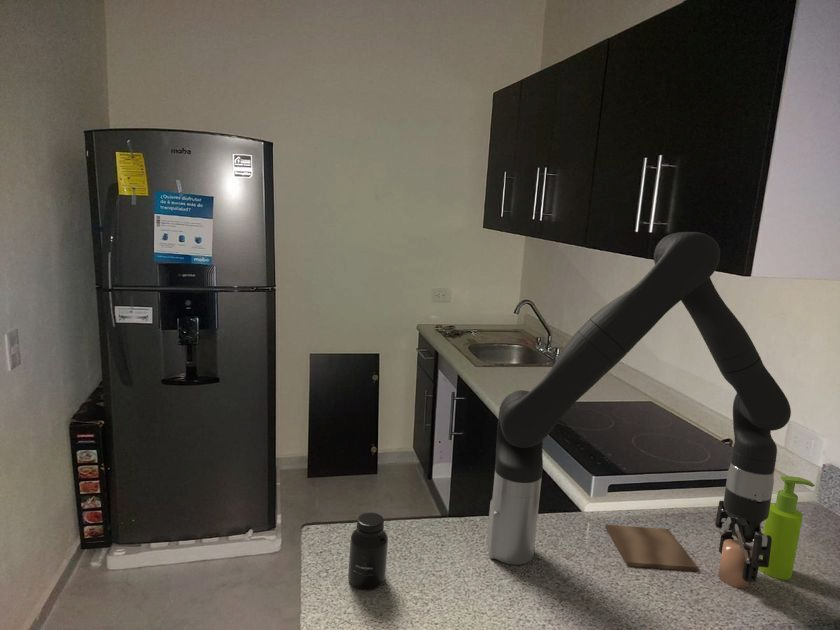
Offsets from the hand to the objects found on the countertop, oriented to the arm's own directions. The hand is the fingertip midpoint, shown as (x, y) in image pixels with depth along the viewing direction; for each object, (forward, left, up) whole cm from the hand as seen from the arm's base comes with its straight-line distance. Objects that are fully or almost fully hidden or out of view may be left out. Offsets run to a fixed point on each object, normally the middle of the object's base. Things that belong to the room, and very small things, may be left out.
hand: (736, 566), depth 107 cm
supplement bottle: (-71, -8, -3) cm, 72 cm away
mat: (-13, +9, -3) cm, 16 cm away
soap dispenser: (+11, +4, -3) cm, 12 cm away
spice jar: (0, 0, -3) cm, 3 cm away
